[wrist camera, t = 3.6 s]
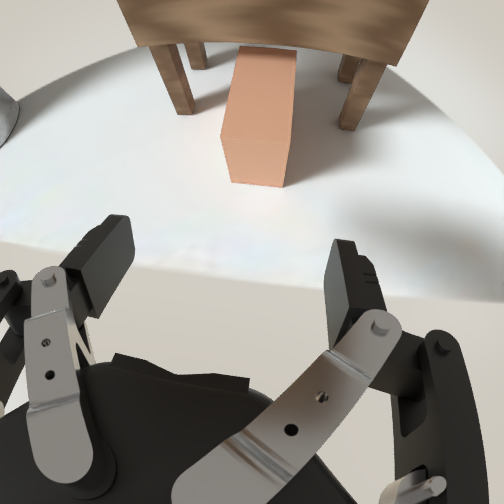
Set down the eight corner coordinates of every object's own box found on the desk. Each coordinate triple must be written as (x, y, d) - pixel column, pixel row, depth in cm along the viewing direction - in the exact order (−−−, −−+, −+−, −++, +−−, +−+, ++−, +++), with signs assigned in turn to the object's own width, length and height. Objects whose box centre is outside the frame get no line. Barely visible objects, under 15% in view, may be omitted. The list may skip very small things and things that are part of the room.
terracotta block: (231, 182, 27) (220, 136, 19) (244, 101, 28) (239, 46, 20) (282, 187, 27) (290, 142, 19) (289, 106, 28) (296, 50, 20)
